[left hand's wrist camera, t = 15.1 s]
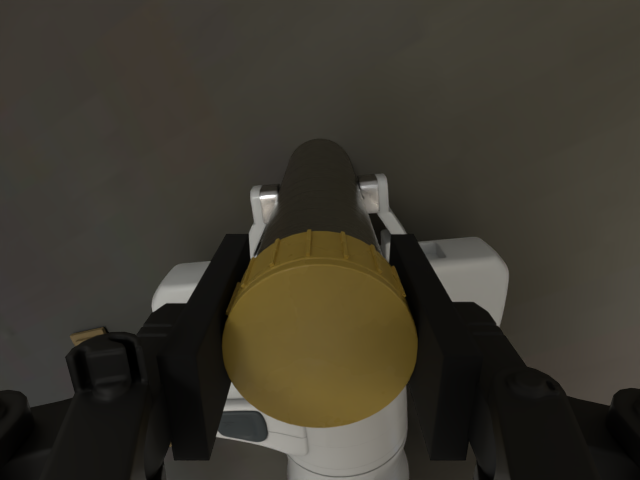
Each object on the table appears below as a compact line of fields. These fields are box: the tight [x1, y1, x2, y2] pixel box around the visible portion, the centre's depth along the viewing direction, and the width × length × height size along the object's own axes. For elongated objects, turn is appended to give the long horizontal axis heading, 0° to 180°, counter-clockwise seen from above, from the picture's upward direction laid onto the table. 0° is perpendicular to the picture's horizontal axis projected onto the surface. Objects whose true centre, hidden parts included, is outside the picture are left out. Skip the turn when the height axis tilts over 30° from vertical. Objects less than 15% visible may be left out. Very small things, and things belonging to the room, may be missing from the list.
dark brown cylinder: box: [256, 139, 383, 257], centre depth 20 cm, size 4×4×20 cm
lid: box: [222, 229, 418, 428], centre depth 11 cm, size 5×5×2 cm
